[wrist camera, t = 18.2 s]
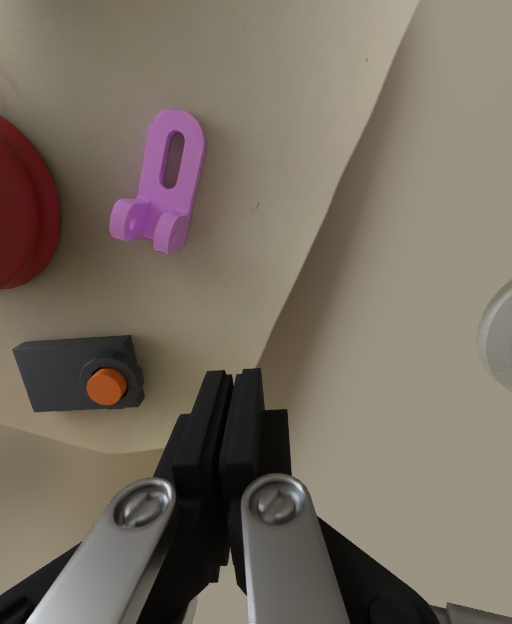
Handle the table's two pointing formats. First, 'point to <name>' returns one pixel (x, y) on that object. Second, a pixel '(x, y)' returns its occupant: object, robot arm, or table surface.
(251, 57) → the table surface
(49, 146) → the table surface
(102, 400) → the button
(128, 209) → the bracket
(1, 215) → the table lamp
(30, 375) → the control block
